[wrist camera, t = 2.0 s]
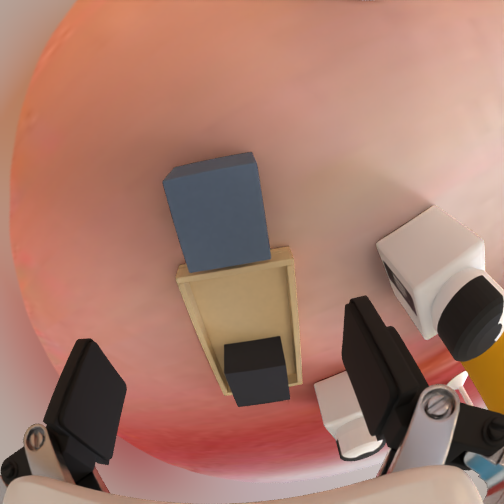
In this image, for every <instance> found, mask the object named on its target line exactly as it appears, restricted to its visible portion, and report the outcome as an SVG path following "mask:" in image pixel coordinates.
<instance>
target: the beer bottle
mask: <svg viewBox="0 0 504 504" xmlns="http://www.w3.org/2000/svg"><path fill="white" fill-rule="evenodd" d="M460 362H461V361H460ZM461 363H462V365H463V367H464V368H465V370H466V371H467V373H468V375H469V376H470V378H471V380H472V381H473V383H474V385H475V386H476V388H477V390H478V392H479V393H480V395H481V397H482V399H483V401H484V402H485V404H486V406H487V408H488V410H490V411H494V412H498V413H501V414H503V415H504V332H503V333H502V335H501V336H500V337H499V339H498V340H497V341H496V342H495V343H494V344H493V345H492V346H491V347H490V348H489V349H488V350H487V351H486V352H484V353H483V354H481V355H480V356H478V357H476V358H474V359H471V360H469V361H465V362H461Z"/></svg>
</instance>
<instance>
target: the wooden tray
mask: <svg viewBox="0 0 504 504" xmlns="http://www.w3.org/2000/svg"><path fill="white" fill-rule="evenodd" d="M270 252H271V259H270V260H264V261H259V262H253V263H247V264H241V265H235V266H229V267H224V268H218V269H212V270H206V271H200V272H194V273H189V271H188V267H187V264H183V265H179V267H178V271H177V274H176V278H175V279H176V282H177V284H178V287H179V290H180V292H181V295H182V298H183V300H184V303H185V305H186V308H187V311H188V313H189V316H190V318H191V321H192V323H193V326H194V328H195V331H196V333H197V335H198V338H199V340H200V343H201V345H202V347H203V350H204V352H205V354H206V357H207V359H208V361H209V363H210V366H211V368H212V370H213V372H214V375H215V377H216V379H217V381H218V383H219V385H220V388H221V390H222V392H223V394H224V396H227V395H233V394H232V392H231V389H230V387H229V385H228V382H227V380H226V377H225V375H224V344H232V343H239V342H245V341H252V340H258V339H265V338H270V337H276V336H280V337H281V342H282V347H283V352H284V357H285V362H286V368H287V377H288V385H289V387H290V386H295V385H300V384H302V364H301V347H300V331H299V317H298V304H297V291H296V279H295V268H294V258H293V256H292V253H291V250H290V248H289V246H287V247H281V248H275V249H270Z"/></svg>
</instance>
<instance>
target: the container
mask: <svg viewBox="0 0 504 504" xmlns="http://www.w3.org/2000/svg"><path fill="white" fill-rule="evenodd" d="M376 247H377V250H378V252H379V255H380V257H381V260H382V262H383V265H384V268H385V270H386V273H387V276H388V278H389V281H390V284H391V287H392V289H393V292H394V294H395V296H396V297H397V299H398V300H399V302H400V303H401V305H402V306H403V307H404V309H405V310H406V312H407V313H408V315H409V316H410V318H411V319H412V321H413V322H414V324H415V325H416V327H417V328H418V330H419V331H420V333H421V335H422V336H423V338H424V339H425V340H429V339H430V338H432V337H433V336H435V335H436V334H438V335H439V337H440V338H441V340H442V341H443V343H444V344H445V346H446V347H447V349H448V350H449V352H450V353H451V355H452V356H453V358H454V359H455V360H456V361H461V362H465V361H469V360H471V359H474V358H476V357H478V356H480V355H481V354H483V353H484V352H486V351H487V350H488V349H489V348H490V347H491V346H492V345H493V344H494V343H495V342H496V341H497V340H498V339H499V337H500V336H501V335H502V333H503V332H504V290H503V289H502V288H501V287H500V286H499V285H498V284H497V283H496V282H495V281H494V280H493V279H492V278H491V277H490V276H489V275H488V274H487V273H486V272H485V248H484V240H483V239H482V238H481V237H479V236H478V235H477V234H476V233H474V232H473V231H472V230H470V229H469V228H468V227H466V226H465V225H464V224H462V223H461V222H459V221H458V220H457V219H455V218H454V217H452V216H451V215H450V214H448V213H447V212H445V211H444V210H442V209H441V208H439V207H438V206H436V205H433V206H432V207H430V208H429V209H427V210H426V211H424V212H423V213H421V214H420V215H418V216H417V217H415V218H414V219H412V220H411V221H409V222H408V223H406V224H405V225H403V226H401V227H400V228H398V229H397V230H395V231H394V232H392V233H391V234H389V235H387V236H386V237H384V238H383V239H381V240H379V241H378V242H377V243H376Z"/></svg>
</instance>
